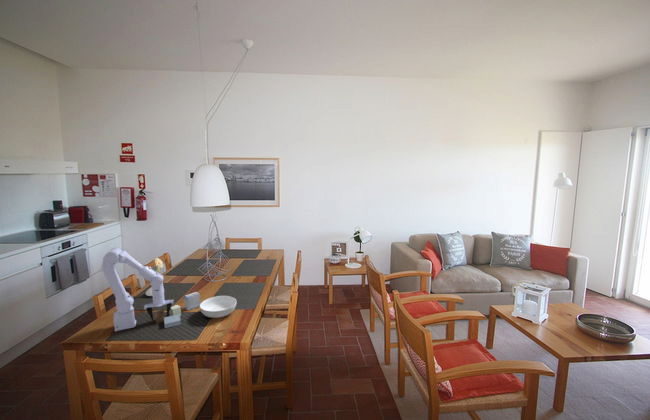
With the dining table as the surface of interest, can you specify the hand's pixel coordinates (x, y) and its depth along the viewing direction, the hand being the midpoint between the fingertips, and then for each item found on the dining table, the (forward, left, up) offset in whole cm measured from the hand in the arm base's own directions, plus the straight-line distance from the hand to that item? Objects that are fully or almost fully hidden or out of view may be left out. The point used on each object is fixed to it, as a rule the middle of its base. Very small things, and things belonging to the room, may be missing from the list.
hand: (160, 317), depth 170 cm
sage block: (+8, +2, -2) cm, 8 cm away
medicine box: (+18, +8, -2) cm, 20 cm away
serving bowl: (+31, -8, -2) cm, 32 cm away
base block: (+6, -6, -2) cm, 9 cm away
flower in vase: (-2, +42, -2) cm, 43 cm away
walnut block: (0, 0, -2) cm, 2 cm away
